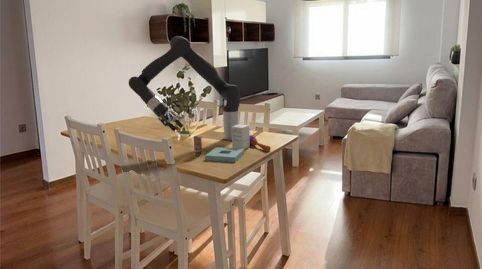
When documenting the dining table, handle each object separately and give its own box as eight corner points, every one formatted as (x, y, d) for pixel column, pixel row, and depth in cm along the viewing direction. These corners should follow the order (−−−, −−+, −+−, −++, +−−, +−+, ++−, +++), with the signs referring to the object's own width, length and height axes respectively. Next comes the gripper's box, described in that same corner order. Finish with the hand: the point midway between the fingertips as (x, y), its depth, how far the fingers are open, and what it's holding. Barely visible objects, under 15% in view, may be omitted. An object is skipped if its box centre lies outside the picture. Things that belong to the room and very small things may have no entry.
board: (215, 151, 211) (215, 147, 211) (244, 153, 207) (244, 148, 206) (205, 160, 196) (205, 155, 196) (235, 162, 192) (235, 157, 191)
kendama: (262, 145, 207) (243, 136, 223) (264, 155, 209) (244, 145, 225) (271, 142, 209) (251, 132, 226) (273, 152, 212) (253, 142, 228)
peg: (196, 153, 208) (195, 135, 206) (203, 154, 207) (202, 136, 205) (193, 155, 205) (192, 137, 202) (200, 156, 203) (199, 137, 201)
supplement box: (239, 145, 224) (238, 123, 221) (250, 147, 219) (249, 125, 217) (231, 148, 218) (231, 126, 215) (242, 150, 214) (242, 127, 211)
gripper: (155, 103, 198) (177, 126, 198) (168, 99, 212) (188, 121, 211) (146, 113, 201) (168, 136, 200) (159, 109, 214) (180, 130, 214)
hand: (178, 128), depth 206 cm, fingers open, 8 cm apart
